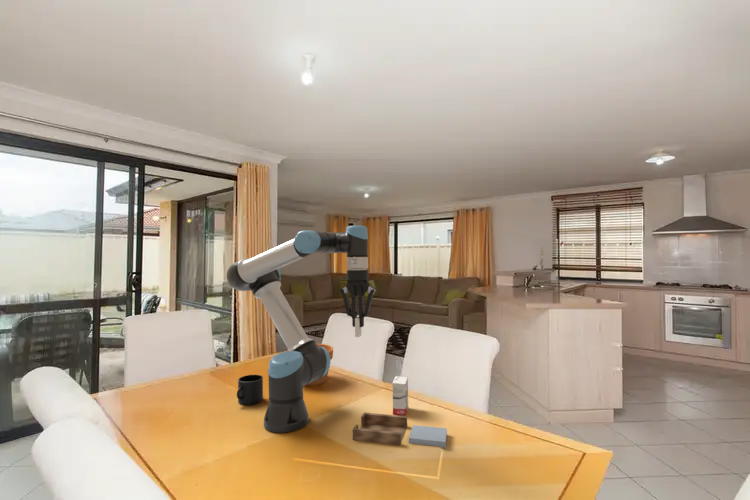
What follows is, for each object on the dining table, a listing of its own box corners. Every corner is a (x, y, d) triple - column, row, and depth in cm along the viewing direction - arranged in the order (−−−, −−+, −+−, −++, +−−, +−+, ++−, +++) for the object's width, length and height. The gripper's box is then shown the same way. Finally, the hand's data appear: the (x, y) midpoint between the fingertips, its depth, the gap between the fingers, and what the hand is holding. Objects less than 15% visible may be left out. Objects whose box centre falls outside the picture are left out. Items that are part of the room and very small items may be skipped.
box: (352, 441, 117) (352, 429, 117) (364, 423, 130) (364, 412, 130) (400, 447, 114) (400, 434, 114) (407, 427, 126) (407, 416, 126)
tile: (408, 446, 115) (408, 438, 115) (412, 432, 124) (412, 425, 124) (445, 450, 112) (445, 441, 112) (447, 436, 121) (446, 428, 121)
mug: (228, 405, 147) (227, 382, 147) (250, 395, 158) (250, 373, 158) (246, 409, 143) (246, 385, 143) (267, 398, 154) (267, 376, 154)
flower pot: (330, 388, 164) (330, 354, 165) (282, 389, 165) (282, 355, 165) (336, 373, 186) (335, 343, 186) (293, 373, 186) (293, 343, 186)
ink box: (405, 417, 135) (405, 384, 135) (392, 416, 136) (391, 383, 136) (408, 407, 143) (408, 376, 143) (395, 406, 144) (395, 375, 144)
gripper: (336, 269, 132) (337, 337, 131) (372, 269, 128) (373, 339, 128) (343, 269, 139) (344, 333, 139) (377, 268, 136) (378, 334, 135)
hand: (358, 336), depth 133 cm, fingers closed
